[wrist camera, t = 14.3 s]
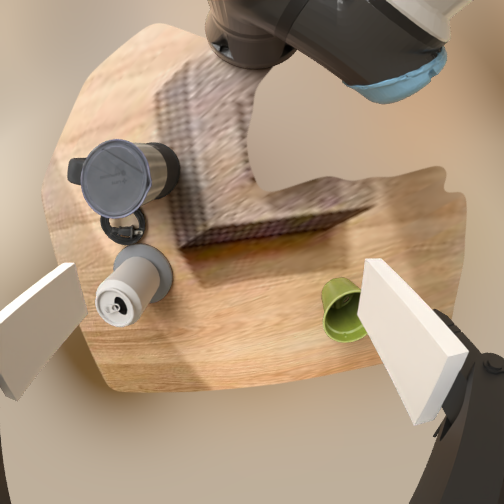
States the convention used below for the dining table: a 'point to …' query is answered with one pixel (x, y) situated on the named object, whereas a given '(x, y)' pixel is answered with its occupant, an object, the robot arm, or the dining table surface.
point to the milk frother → (124, 181)
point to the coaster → (155, 259)
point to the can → (127, 292)
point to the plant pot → (342, 311)
